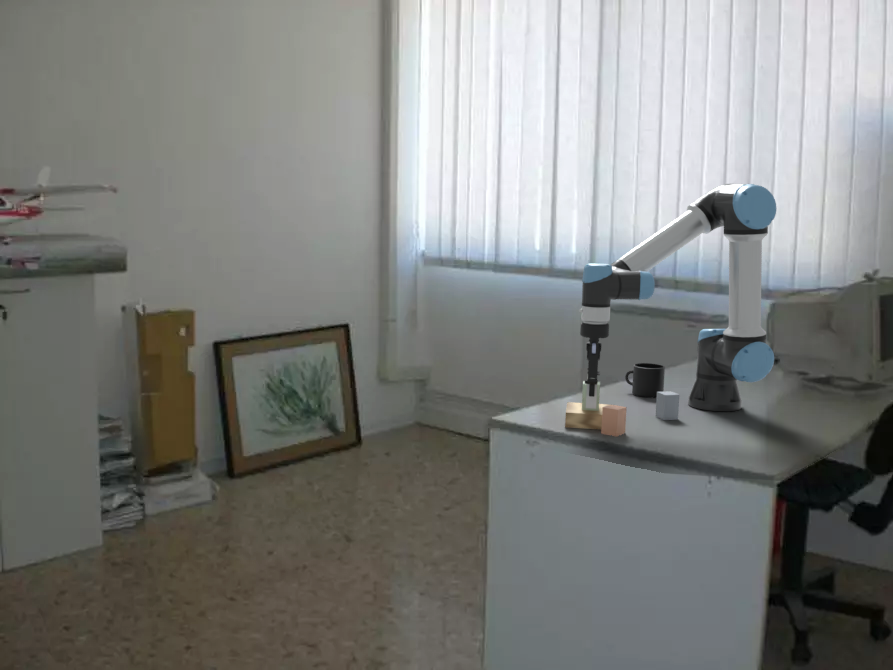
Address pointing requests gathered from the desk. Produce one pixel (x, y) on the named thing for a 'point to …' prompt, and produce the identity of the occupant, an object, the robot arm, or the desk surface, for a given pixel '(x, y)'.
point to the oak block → (583, 416)
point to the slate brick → (667, 405)
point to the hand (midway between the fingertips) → (591, 403)
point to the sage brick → (585, 397)
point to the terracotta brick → (613, 420)
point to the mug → (647, 379)
